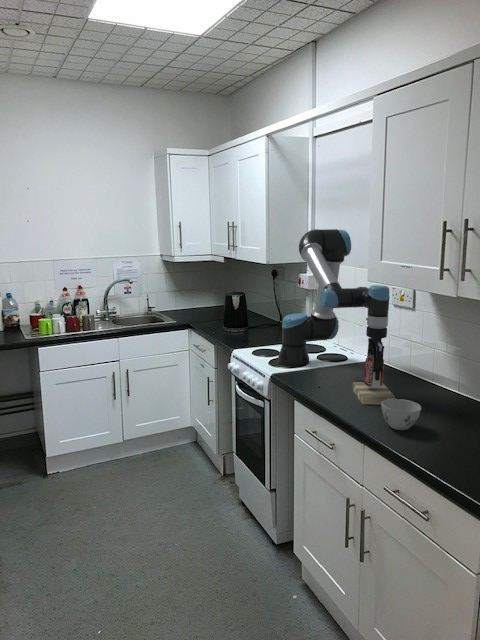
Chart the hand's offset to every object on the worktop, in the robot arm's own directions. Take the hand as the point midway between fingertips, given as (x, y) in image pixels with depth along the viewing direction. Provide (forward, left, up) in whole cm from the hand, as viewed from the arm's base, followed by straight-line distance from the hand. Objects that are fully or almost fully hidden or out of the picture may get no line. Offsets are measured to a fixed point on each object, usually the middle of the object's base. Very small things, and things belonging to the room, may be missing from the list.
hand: (373, 384), depth 194 cm
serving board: (0, 0, -5) cm, 5 cm away
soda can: (0, 0, -1) cm, 1 cm away
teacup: (+29, +1, -5) cm, 29 cm away
